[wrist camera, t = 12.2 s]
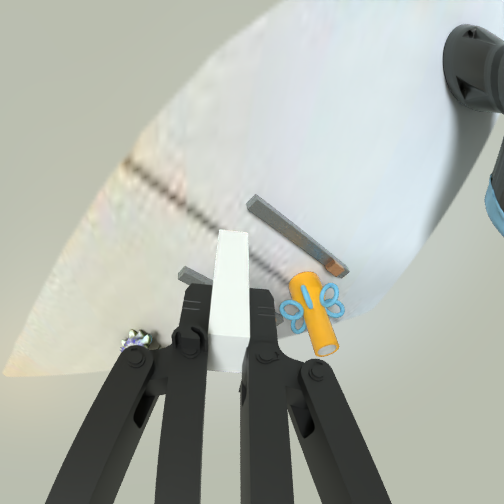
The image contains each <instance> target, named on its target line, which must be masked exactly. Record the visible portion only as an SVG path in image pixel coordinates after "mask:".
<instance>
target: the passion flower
mask: <svg viewBox="0 0 504 504" xmlns="http://www.w3.org/2000/svg"><path fill="white" fill-rule="evenodd" d="M152 339H153V338H152V336H151V334H147V335H146V336H144V333H143V332H142V331H141V330H139V332H138V334H137V333H136V332H135V331H134V330H133V329H131V330H130V332H129V338H128V340H127V341H126V340H122V345H123V347H120V348H122V350H120V351H121V352H122V351H123V350H124V349H125V348H127V347H129V346H133V345H140V346H144V347H146V348H147V349H148V346H149V344H150V343H151V342H152ZM159 349H161V348H160V346H159ZM156 350H157V349H156ZM149 351H150V350H149Z"/></svg>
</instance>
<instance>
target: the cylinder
mask: <svg viewBox="0 0 504 504" xmlns="http://www.w3.org/2000/svg"><path fill="white" fill-rule="evenodd" d="M328 288H333V289H334V297H333V299H327V300H325V292H326V290H327V289H328ZM289 290H290V293H291V297H292V300H286V301H284V302H282V303H281V305H280V308H279V309H280V313H281V314H282V316H283V317H285V318H286V319H289V320H292V321H291V329H292V331H293V332H294V333H296V334H300V333H302V332H303V331H304V330H305V329H306V327H307V329H308V333H309V336H310V339H311V342H312V345H313V349H314V352H315V355H316V356H319V357H324V356H328V355H330V354H332V353H334V352H336V351H337V350H338V349H339V344H338V341H337V339H336V336H335V333H334V330H333V328H332V325H331V322H330V320H329V317H328V316H330V317H333V318H339V317H341V316H342V315H343V314H344V312H345V308H344V306H343V304H342V303H341V302H340V301H338V300H337V299H338V296H339V289H338V287H337V285H336V284H334V283H328V284H326V285H325V286H324V287H323V286H322V284H321V281H320V279H319V277H318V275H317V274H315V273H313V272H302V273H300V274H298V275H296V276H294V277H293V278H292V279H291V281H290V283H289ZM324 300H325V301H324ZM288 304H291V305H295V307H297V308H298V309H299V312H297V313H296V314H295V315H294V316H292V315H289V314H287V313H286V312H285V310H284V307H285V306H286V305H288ZM334 304H336V305H338V306H339V307H340V312H339V313H332V312H330V311H329V310H328V309H327V308H328V307H331V306H333V305H334ZM302 316H303V318H304V323H303V326H302V327H301V328H300V329H299V330H297V329H296V327H295V322H296V320H298V319H300V318H301V317H302Z"/></svg>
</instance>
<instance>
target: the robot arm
mask: <svg viewBox="0 0 504 504" xmlns="http://www.w3.org/2000/svg"><path fill="white" fill-rule="evenodd" d="M443 63H444V72H445V77H446V80H447V83H448V86H449V88H450V90H451V92H452V94H453V95H454V96H455V98H456V99H457V100H458V101H459V102H460V103H462V104H463V105H465V106H467V107H469V108H471V109H473V110H476V111H483V112H494V113H502V114H504V41H503V40H502V39H500V38H499V37H497V36H496V35H494V34H492V33H491V32H489V31H488V30H486V29H484V28H482V27H479V26H474V25H469V24H463V25H460V26H458V27H456V28H455V29H454V30H453V31H452V32H451V33H450V35H449V36H448V39H447V41H446V44H445V48H444V57H443ZM485 205H486V210H487V213H488V216H489V218H490V219H491V221H492V223H493V224H494V226H495V227H496V228H497V229H498V231H499V232H500V233H501V235H502V236H503V237H504V137H503V141H502V144H501V148H500V151H499V154H498V157H497V161H496V164H495V167H494V170H493V172H492V174H491V175H490V179H489V186H488V189H487V192H486V195H485ZM207 370H211V371H222V372H235V373H241V371H242V381H241V385H240V388H239V392H240V393H241V394H240V405H241V406H240V447H241V449H240V456H241V457H240V463H241V464H240V465H241V466H240V467H241V468H240V471H241V472H240V473H241V504H294V495H293V480H292V465H291V451H290V438H289V426H288V413H287V409H288V412H289V415H290V417H291V420H292V423H293V426H294V429H295V431H296V434H297V437H298V440H299V443H300V445H301V448H302V450H303V453H304V456H305V459H306V462H307V464H308V467H309V470H310V472H311V475H312V478H313V480H314V483H315V486H316V488H317V491H318V494H319V496H320V499H321V502H322V504H392V503H391V501H390V499H389V496H388V494H387V491H386V489H385V487H384V485H383V482H382V480H381V477H380V475H379V473H378V470H377V468H376V466H375V464H374V461H373V459H372V457H371V454H370V452H369V450H368V447H367V445H366V443H365V441H364V439H363V436H362V434H361V432H360V429H359V427H358V425H357V423H356V420H355V419H354V416H353V414H352V412H351V409H350V407H349V405H348V403H347V401H346V398H345V396H344V394H343V392H342V390H341V388H340V385H339V383H338V381H337V379H336V377H335V374H334V372H333V370H332V368H331V367H330V366H329V364H327V363H326V362H325V361H323V360H320V359H310V360H308V361H306V362H305V363H304V362H301V361H298V360H294V359H292V358H289V357H288V356H286V355H285V354H284V353H283V352H282V351H281V350H280V348H279V346H278V340H277V329H276V319H275V309H274V298H273V297H272V295H271V293H270V292H269V290H266V289H255V288H249V252H248V232H239V231H230V230H221V229H219V237H218V245H217V254H216V262H215V271H214V280H213V285H206V284H197V283H191V284H190V286H189V287H188V288H187V289H186V291H185V296H184V302H183V306H182V312H181V317H180V323H179V327H177V328H176V329H175V330H174V332H173V334H172V344H171V345H170V346H168V347H166V348H162V349H157V350H151V351H149V349H147V348H146V347H144V346H140V345H133V346H129V347H127V348H125V349H124V350H123V351H122V353H121V354H120V356H119V357H118V359H117V361H116V363H115V364H114V366H113V368H112V370H111V372H110V373H109V375H108V377H107V379H106V381H105V382H104V384H103V386H102V388H101V390H100V391H99V393H98V395H97V397H96V399H95V401H94V403H93V404H92V406H91V408H90V410H89V412H88V414H87V416H86V418H85V420H84V422H83V424H82V426H81V428H80V429H79V432H78V433H77V435H76V438H75V440H74V441H73V444H72V446H71V448H70V450H69V452H68V454H67V456H66V458H65V460H64V462H63V464H62V467H61V469H60V471H59V473H58V475H57V477H56V480H55V482H54V484H53V486H52V489H51V491H50V493H49V496H48V498H47V500H46V503H45V504H113V503H114V500H115V498H116V495H117V493H118V490H119V488H120V486H121V483H122V481H123V478H124V476H125V473H126V471H127V469H128V466H129V464H130V461H131V459H132V457H133V454H134V452H135V450H136V447H137V445H138V443H139V440H140V438H141V436H142V433H143V431H144V429H145V427H146V424H147V422H148V420H149V417H150V415H151V413H152V411H153V408H154V406H155V404H156V402H157V399H158V397H159V395H164V394H166V397H165V404H164V412H163V420H162V429H161V437H160V445H159V455H158V465H157V478H156V490H155V503H154V504H200V499H201V468H202V445H203V424H204V408H205V392H206V376H207Z"/></svg>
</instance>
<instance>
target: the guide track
mask: <svg viewBox="0 0 504 504" xmlns="http://www.w3.org/2000/svg"><path fill="white" fill-rule="evenodd" d="M246 205H247V209H248V210H249V211H251V212H252V213H254V214H255V215H256V216H258V217H259V218H261V219H262V220H263V221H265V222H266V223H268V224H269V225H270V226H272V227H273V228H274V229H276V230H277V231H279V232H280V233H281V234H283V235H284V236H285V237H287V238H288V239H289V240H291V241H292V242H294V243H295V244H296V245H298V246H299V247H300V248H302V249H303V250H304V251H306V252H307V253H308V254H310V255H311V256H312V257H314V258H315V259H316V260H318V261H319V262H320V263H322V264H323V265H324V266H325V267H326V269H327V270H328V271H329V272H330V273H332V274H333V275H334V276H336V277H337V276H339V277H340V278H343V277H344V276H345V275H347V274H348V273H349V270H348V268H347V266H346V265H344V264H343V263H342V262H341V261H340V260H338V259H337V258H336V257H335V256H334V255H332V254H331V253H330V252H329V251H327V250H326V249H325V248H324V247H323V246H321V245H320V244H319V243H318V242H316V241H315V240H314V239H313V238H311V237H310V236H309V235H308V234H306V233H305V232H304V231H303V230H301V229H300V228H299V227H298V226H296V225H295V224H294V223H293V222H291V221H290V220H289V219H287V218H286V217H285V216H284V215H282V214H281V213H280V212H278V211H277V210H276V209H275V208H273V207H272V206H271V205H269V204H268V203H267V202H266V201H264V200H263V199H262V198H260V197H259V196H258V195H256V194H255V195H254V196H253V197H252V198H251V199H250V200H249V201H248V202H247V203H246ZM178 280H180V281H182V282H184V283H186V284H188V285H190V284H191V283H197V284H206V285H213V281H212V280H210V279H209V278H207V277H205V276H203V275H201V274H199V273H197V272H195V271H193V270H191V269H190V268H188V267H186V266H185V267H184V268H183V269H182V270H181V271H180V272H179V273H178ZM275 319H276V326H278V325H279V324H280V323H282V322H283V321H284V320H283V316H282V315H280V314H278V313H276V312H275Z"/></svg>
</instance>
